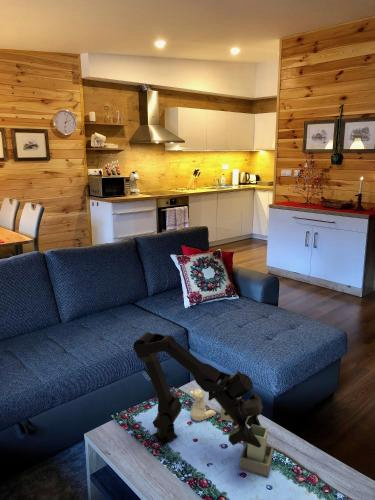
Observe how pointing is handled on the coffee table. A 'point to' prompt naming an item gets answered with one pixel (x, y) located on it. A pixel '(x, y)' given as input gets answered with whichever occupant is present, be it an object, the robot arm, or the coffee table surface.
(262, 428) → the beige open box
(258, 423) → the robot arm
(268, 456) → the box
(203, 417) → the seated beast figurine
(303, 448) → the coffee table surface
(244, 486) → the coffee table surface
